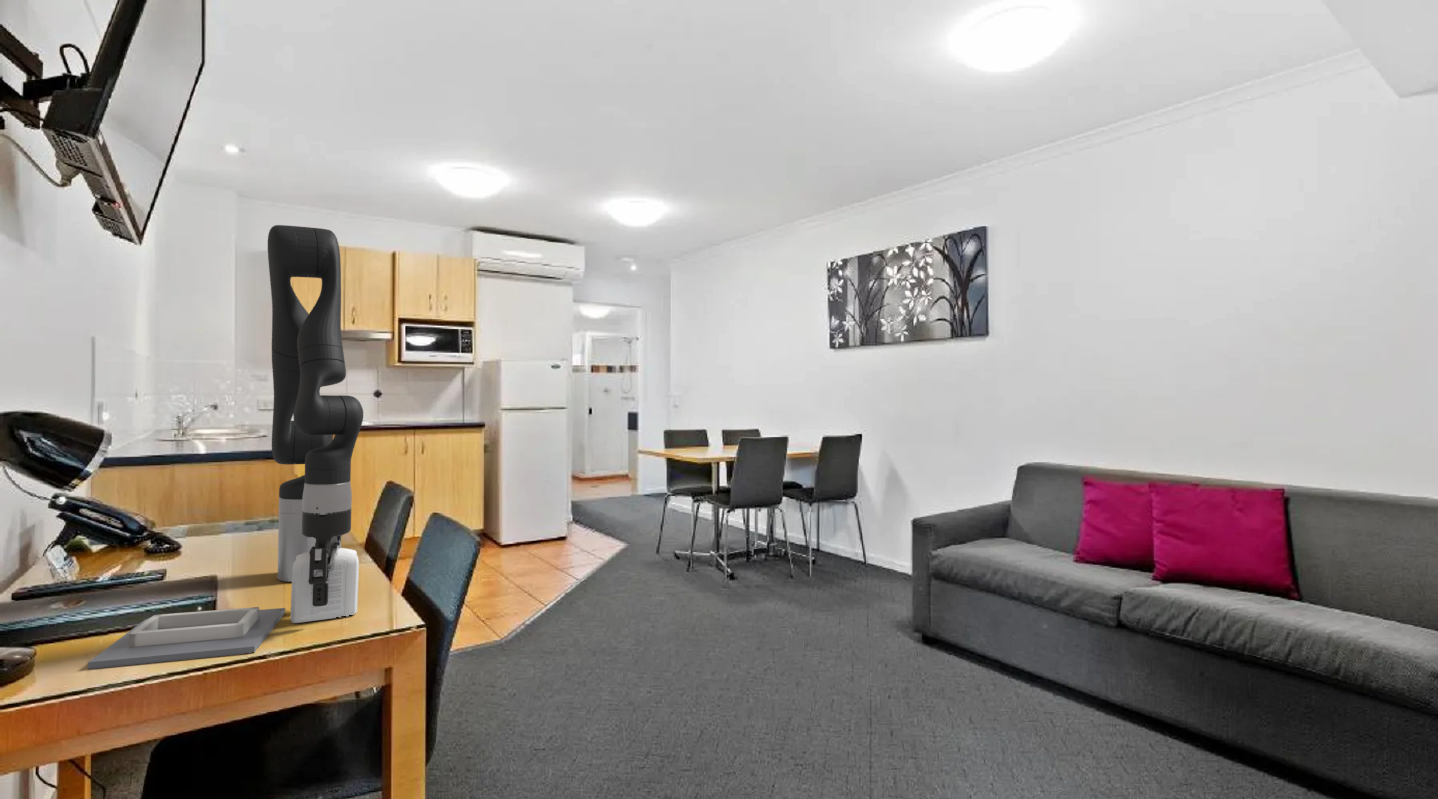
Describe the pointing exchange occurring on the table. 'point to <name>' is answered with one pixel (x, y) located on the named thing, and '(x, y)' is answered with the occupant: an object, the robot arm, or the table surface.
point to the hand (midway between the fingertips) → (325, 597)
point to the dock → (191, 636)
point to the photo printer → (339, 588)
